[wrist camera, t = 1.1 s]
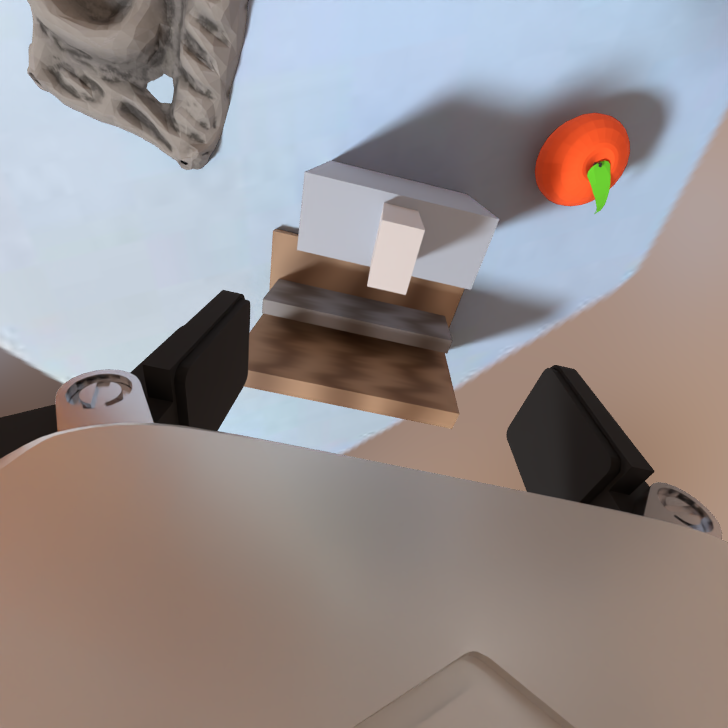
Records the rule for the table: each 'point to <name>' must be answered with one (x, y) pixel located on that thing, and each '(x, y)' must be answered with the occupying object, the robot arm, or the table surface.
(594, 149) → the clementine
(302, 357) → the wooden stand
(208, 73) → the wall plaque
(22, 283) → the table surface
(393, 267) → the white box with handle
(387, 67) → the table surface
